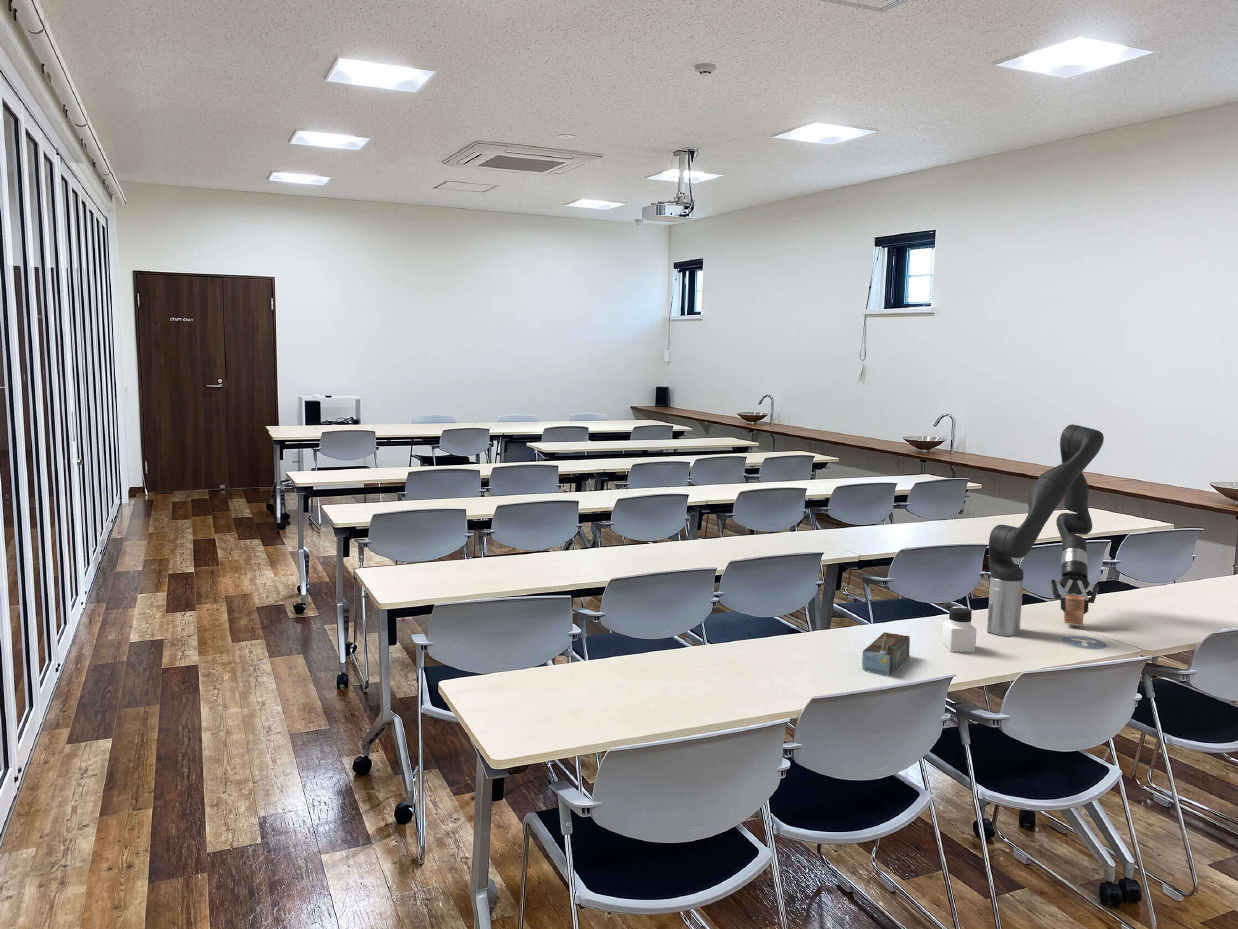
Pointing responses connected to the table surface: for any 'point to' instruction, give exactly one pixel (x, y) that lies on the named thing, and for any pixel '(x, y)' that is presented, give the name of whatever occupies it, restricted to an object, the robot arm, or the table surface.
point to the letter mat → (1084, 642)
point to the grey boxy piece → (886, 653)
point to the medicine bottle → (959, 631)
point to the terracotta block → (1074, 609)
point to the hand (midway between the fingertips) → (1074, 611)
